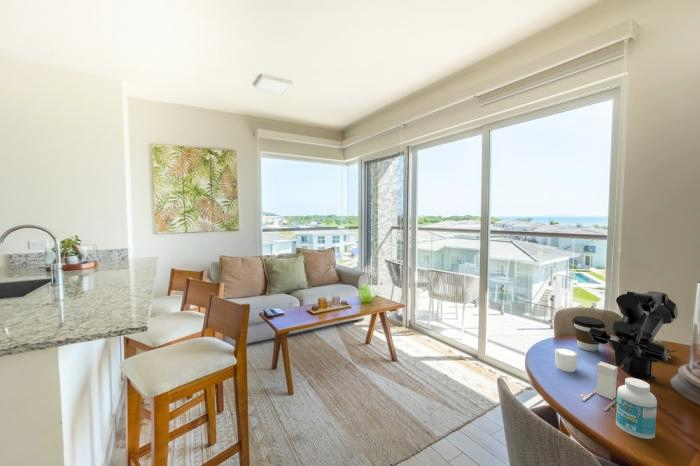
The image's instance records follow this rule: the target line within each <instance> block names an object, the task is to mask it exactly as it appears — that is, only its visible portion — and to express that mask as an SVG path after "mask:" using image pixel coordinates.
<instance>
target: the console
mask: <svg viewBox="0 0 700 466" xmlns="http://www.w3.org/2000/svg"><path fill="white" fill-rule="evenodd" d="M595 394H597V388H595V389H594V390H593V391H591V392H590V393H589V394H587V395H584V394H582V393H581V394H579V396H581V397H583V398H582V399H581V401H582V402H586V401H587V400H589V398H591V397H593V396H594V395H595ZM613 406H617V397H616V398H614V399H613V400H612V401H611V402H610V403H608V404H607V405H606V406H605V407H604V408H603V409H602V410H603V411H604V412H607V411H608V410H609V409H611V410H613V411H616V410H617V408H615V407H613Z"/></svg>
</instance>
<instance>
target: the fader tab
mask: <svg viewBox="0 0 700 466" xmlns="http://www.w3.org/2000/svg"><path fill="white" fill-rule="evenodd" d="M618 368H619V367H618V366H615V365H612V364H610V363H607V362H604V361H599V362H598V363H597V366H596V369H597V370H596V371H597V379H596V380H597V385H596V389H597V392H596V394H597V395H599V396H601V397H603V398H606V399H609V400H612V401H613V400H615V399H616V398H617V376H618V370H619V369H618Z"/></svg>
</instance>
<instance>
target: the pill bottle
mask: <svg viewBox="0 0 700 466" xmlns="http://www.w3.org/2000/svg"><path fill="white" fill-rule="evenodd" d="M650 391H651V385H650V384H649V383H648V382H646V381H644V380H642V379H640V378H636V377H626V378H625V379H624V384H623V385H620V386H618V388H617V391H616V398H617V402H616V404H617V405H616V409H617V410H616V412H615V413H616V414H615V415H616V416H615V424H616V426H617V427H618V428H619V429H621V430H622V431H623V432H625V433H627V434H628V435H631V436H633V437H636V438H641V439H647V440H650V439H654V438H655V437H656V429H657V428H656V426H657V424H656V423H657V412H658V411H657V410H658V408H657V407H658V400H657V398H656V396H655V394H653V393H652V392H650Z"/></svg>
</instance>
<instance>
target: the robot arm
mask: <svg viewBox="0 0 700 466" xmlns="http://www.w3.org/2000/svg"><path fill="white" fill-rule="evenodd" d="M615 301H616V305H617V307H618V309H619V311H620V313H621V315H622V317H621V320H620V321H618V320H613V321H612V327H611V330H612V333H613V335H612V334H611V335H610V334H607V331H606V330H605V329H598V328H594V327H593V328H591V329H590V330H589V335H590V337H591V338H592V340H593V341H594V342H597V343H600V344H602V345H606V344H608V343H609V346H610V347H611V349H612V350H614V357H615V365H616V367H618V368H620V369H621V370H622V371H624V372H626V373H628V374H629V375H631V377H632V378H636V379H640V378H641V379H656V376H654V375H653V374H652V367H653V366H652V365H653V363H658V361H659V362H663V363H666V362H668V360H669V359H668V355H669V353H667V350H666V348H667V347H666V346H665V345H664V346H663V345H659V344H656V343H653V339H654V337H656V335H657V334H659V333H658V332H659V331H660V330H661V328H662V327H663V326H664V325H666V324H672V323H673V322H674V321H675V320H677V318H678V315H679V313H678V307H677V304H676V303H675V302H674V301H672V300H671V299H670V298H669V296H668V293H664V292H660V291H653V290H651V291H648V292H644V293H638V292H634V291H628V290H627V292H626V293H623V294H620V295H618V296H617V297H616V299H615Z"/></svg>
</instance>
